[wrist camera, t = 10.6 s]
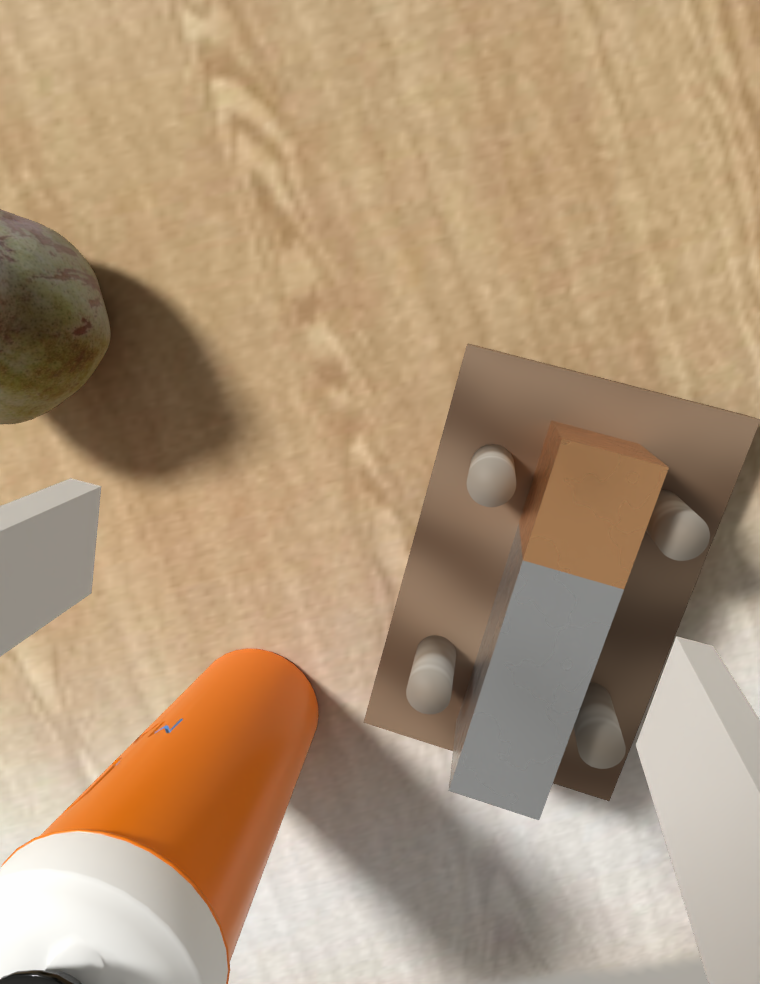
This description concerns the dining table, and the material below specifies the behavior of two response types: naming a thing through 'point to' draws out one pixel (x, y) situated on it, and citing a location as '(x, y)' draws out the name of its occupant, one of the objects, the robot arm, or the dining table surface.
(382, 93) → the dining table surface
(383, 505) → the dining table surface
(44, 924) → the shaker bottle
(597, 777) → the peg rack
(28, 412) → the fruit
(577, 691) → the bar
